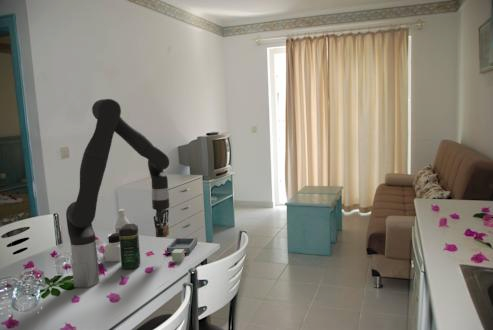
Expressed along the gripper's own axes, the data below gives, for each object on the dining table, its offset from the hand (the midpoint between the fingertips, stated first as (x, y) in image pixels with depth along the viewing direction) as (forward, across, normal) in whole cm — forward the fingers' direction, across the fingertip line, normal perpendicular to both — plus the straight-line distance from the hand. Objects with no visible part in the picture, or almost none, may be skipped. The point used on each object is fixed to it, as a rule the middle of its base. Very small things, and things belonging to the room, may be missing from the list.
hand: (162, 234), depth 180 cm
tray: (+12, +15, -4) cm, 20 cm away
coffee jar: (+13, -7, +13) cm, 19 cm away
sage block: (+12, 0, -7) cm, 14 cm away
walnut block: (+1, 0, 0) cm, 1 cm away
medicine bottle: (+13, +1, +24) cm, 27 cm away
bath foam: (+13, +15, +26) cm, 32 cm away
